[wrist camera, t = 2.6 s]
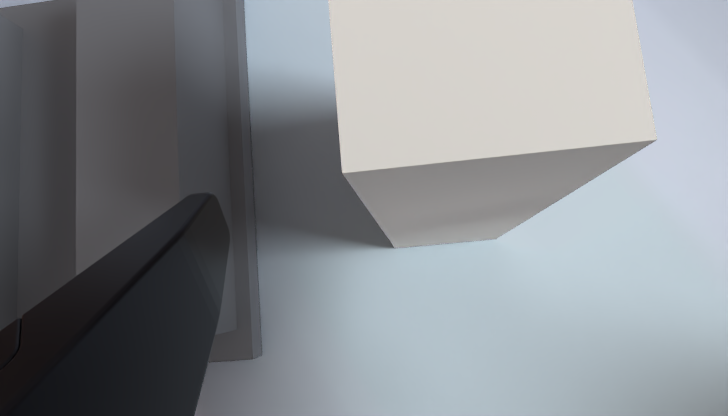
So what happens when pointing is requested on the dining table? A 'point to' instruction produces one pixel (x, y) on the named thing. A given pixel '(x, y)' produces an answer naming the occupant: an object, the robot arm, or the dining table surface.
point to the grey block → (482, 108)
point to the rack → (123, 142)
